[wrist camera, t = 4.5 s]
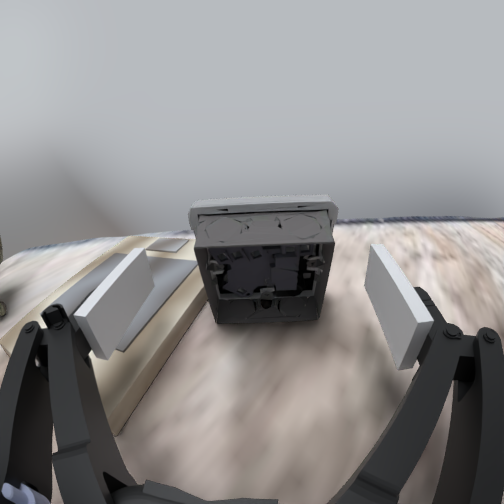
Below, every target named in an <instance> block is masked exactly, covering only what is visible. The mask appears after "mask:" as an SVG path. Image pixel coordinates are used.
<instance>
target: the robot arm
mask: <svg viewBox="0 0 504 504" xmlns="http://www.w3.org/2000/svg"><path fill="white" fill-rule="evenodd" d="M364 286H365V289H366V291H367V293H368V296H369V298H370V300H371V303H372V305H373V307H374V310H375V312H376V315H377V317H378V319H379V322H380V324H381V327H382V330H383V332H384V335H385V337H386V340H387V343H388V345H389V348H390V351H391V353H392V356H393V359H394V362H395V365H396V367H397V370H403V369H409V368H413V366H414V364H415V362H416V360H418V362H419V365H420V366H419V368H418V370H417V372H416V374H415V376H414V377H413V379H412V382H411V384H410V386H409V388H408V390H407V392H406V394H405V396H404V398H403V400H402V402H401V403H400V405H399V407H398V409H397V410H396V412H395V414H394V416H393V417H392V419H391V421H390V422H389V424H388V425H387V427H386V429H385V430H384V432H383V433H382V435H381V436H380V438H379V439H378V441H377V442H376V444H375V445H374V447H373V448H372V450H371V451H370V452H369V454H368V455H367V457H366V458H365V459H364V461H363V462H362V463H361V465H360V466H359V467H358V469H357V470H356V471H355V472H354V474H353V475H352V476H351V477H350V479H349V480H348V481H347V482H346V483H345V485H344V486H343V487H342V488H341V489H340V490H339V492H338V493H337V494H336V495H335V496H334V497H333V498H332V499H331V500H330V501H329V502H328V503H327V504H397V503H398V500H399V493H400V491H401V489H402V488H403V486H404V484H405V483H406V481H407V480H408V478H409V476H410V475H411V473H412V471H413V469H414V468H415V466H416V464H417V462H418V460H419V459H420V457H421V455H422V453H423V451H424V449H425V447H426V445H427V443H428V441H429V439H430V437H431V434H432V432H433V430H434V428H435V426H436V423H437V421H438V419H439V416H440V414H441V411H442V409H443V406H444V403H445V401H446V398H447V395H448V392H449V389H450V387H451V383H452V380H454V388H453V402H452V413H451V421H450V429H449V436H448V442H447V447H446V452H445V457H444V462H443V466H442V471H441V475H440V479H439V482H438V486H437V489H436V493H435V496H434V499H433V502H432V504H501V501H502V496H503V491H504V355H503V349H502V344H501V339H500V337H499V335H498V334H497V332H496V331H494V330H493V329H490V328H487V327H483V328H481V329H480V330H479V331H478V333H477V335H476V336H470V335H464V334H463V332H462V330H461V329H460V328H459V327H457V326H456V325H454V324H450V323H447V322H446V321H445V319H444V318H443V316H442V314H441V313H440V311H439V310H438V308H437V307H436V306H435V304H434V302H433V301H432V300H431V298H430V296H429V295H428V293H427V292H426V291H424V290H423V289H422V288H420V287H413V286H412V285H411V283H410V282H409V280H408V279H407V277H406V276H405V274H404V273H403V271H402V270H401V269H400V267H399V266H398V264H397V263H396V262H395V260H394V259H393V257H392V256H391V255H390V253H389V252H388V250H387V249H386V248H385V246H384V245H383V244H371V246H370V253H369V260H368V266H367V272H366V278H365V284H364ZM154 287H155V285H154V281H153V278H152V274H151V270H150V266H149V262H148V258H147V254H146V250H145V248H134V249H133V250H132V251H131V252H130V253H129V254H128V255H127V256H126V257H125V258H124V259H123V260H122V261H121V262H120V263H119V264H118V265H117V267H116V268H115V269H114V270H113V271H112V272H111V273H110V274H109V275H108V276H107V277H106V278H105V279H104V281H103V282H102V283H101V284H100V285H99V286H98V287H97V288H95V289H94V290H92V291H91V292H90V293H89V294H88V295H87V296H86V297H85V299H83V300H82V302H81V304H79V305H78V306H77V307H76V309H75V310H74V311H73V312H72V313H71V314H70V316H69V317H68V316H67V314H66V312H65V309H64V307H63V305H62V304H58V303H56V304H52V305H50V306H48V307H47V308H46V309H44V311H43V312H42V314H41V317H42V319H43V321H44V323H45V324H46V326H47V328H41V327H40V325H39V323H38V322H37V321H31V322H28V323H26V324H25V325H24V326H23V327H22V329H21V331H20V333H19V336H18V338H17V341H16V343H15V346H14V348H13V351H12V354H11V357H10V360H9V362H8V365H7V369H6V372H5V375H4V378H3V381H2V385H1V389H0V504H51V499H52V463H53V467H54V471H55V475H56V479H57V483H58V486H59V490H60V493H61V496H62V499H63V502H64V504H278V499H251V498H239V499H230V500H218V501H206V500H203V499H200V498H198V497H195V496H193V495H191V494H188V493H186V492H184V491H182V490H180V489H178V488H175V487H172V486H168V485H164V484H160V483H156V482H153V481H149V480H146V481H145V484H144V485H138V484H137V483H136V481H135V480H134V479H133V477H132V476H131V475H130V474H129V472H128V471H127V469H126V467H125V465H124V462H123V460H122V458H121V455H120V453H119V450H118V448H117V445H116V443H115V440H114V437H113V435H112V432H111V429H110V426H109V423H108V420H107V417H106V414H105V411H104V407H103V404H102V401H101V397H100V393H99V390H98V386H97V382H96V378H95V374H94V370H93V365H92V361H91V358H90V356H89V355H88V354H89V353H90V351H91V350H92V351H93V353H94V355H95V356H96V358H99V359H103V360H107V361H108V360H109V358H110V357H111V355H112V353H113V352H114V350H115V348H116V347H117V345H118V343H119V342H120V340H121V338H122V337H123V335H124V333H125V332H126V330H127V329H128V327H129V325H130V324H131V322H132V321H133V319H134V317H135V316H136V314H137V313H138V311H139V310H140V308H141V306H142V305H143V303H144V302H145V300H146V299H147V297H148V296H149V294H150V293H151V291H152V290H153V288H154ZM35 360H37V361H38V366H36V362H35ZM53 423H54V430H55V435H56V441H57V446H58V452H55V453H53V454H52V434H53Z"/></svg>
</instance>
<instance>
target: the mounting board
mask: <svg viewBox="0 0 504 504" xmlns="http://www.w3.org/2000/svg"><path fill="white" fill-rule="evenodd" d="M195 241H196V239H179V238H161V237H142V236H128V237H127V238H125V239H124V240H122V241H121V242H119V243H118V244H117V245H115V246H114V247H112V248H111V249H109V250H108V251H107V252H105V253H104V254H102V255H101V256H100V257H98V258H97V259H96V260H94V261H93V262H92V263H90V264H89V265H87V266H86V267H85V268H83V269H82V270H81V271H80V272H78V273H77V274H76V275H74V276H73V277H72V278H70V279H69V280H68V281H67V282H65V283H64V284H63V285H62V286H60V287H59V288H58V289H57V290H55V291H54V292H53V293H52V294H50V295H49V296H48V297H47V298H46V299H44V300H43V301H42V302H41V303H40V304H39V305H37V306H36V307H35V308H34V309H33V310H32V311H30V312H29V313H28V314H27V315H26V316H25V317H24V318H23V319H21V320H20V321H19V322H18V323H17V324H16V325H15V326H14V327H13V328H12V329H10V330H9V331H8V332H7V333H6V334H5V335H4V336H3V337H2V338H1V339H0V344H1V346H2V348H3V349H4V351H5V352H6V354H7V355H8V356H9V357H11V354H12V351H13V348H14V346H15V343H16V341H17V338H18V336H19V333H20V331H21V329H22V327H23V326H24V325H25V324H26V323H28V322H31V321H37V322H38V323H39V325H40V327H41V328H47V326H46V324H45V323H44V321H43V319H42V317H41V314H42V312H43V311H44V309H46V308H47V307H48V306H50V305H52V304H56V303H58V304H62V305H63V307H64V309H65V312H66V314H67V316H68V317H69V316H70V314H71V313H72V312H73V311H74V310H75V309H76V307H77V306H78V305H79V304H81V302H82V300H83V299H85V297H86V296H87V295H88V294H89V293H90V292H91V291H92V290H94V289H95V288H97V287H98V286H99V285H100V284H101V283H102V282H103V281H104V279H105V278H106V277H107V276H108V275H109V274H110V273H111V272H112V271H113V270H114V269H115V268H116V267H117V265H118V264H119V263H120V262H121V261H122V260H123V259H124V258H125V257H126V256H127V255H128V254H129V253H130V252H131V251H132V250H133V249H134V248H145V250H146V254H147V258H148V262H149V266H150V270H151V274H152V278H153V281H154V285H155V287H154V288H153V290H152V291H151V293H150V294H149V296H148V297H147V299H146V300H145V302H144V303H143V305H142V306H141V308H140V310H139V311H138V313H137V314H136V316H135V317H134V319H133V321H132V322H131V324H130V325H129V327H128V329H127V330H126V332H125V333H124V335H123V337H122V338H121V340H120V342H119V343H118V345H117V347H116V348H115V350H114V352H113V353H112V355H111V357H110V358H109V360H108V361H107V360H103V359H99V358H96V356H95V355H94V353H93V351H92V350H91V351H90V353H89V354H88V355H89V356H90V358H91V361H92V365H93V370H94V374H95V378H96V382H97V386H98V390H99V393H100V397H101V401H102V404H103V407H104V411H105V414H106V417H107V420H108V423H109V426H110V429H111V432H112V434H114V435H116V436H117V435H118V434H119V432H120V430H121V429H122V427H123V426H124V424H125V423H126V421H127V420H128V418H129V417H130V415H131V414H132V412H133V411H134V409H135V407H136V406H137V404H138V403H139V401H140V400H141V398H142V397H143V395H144V394H145V392H146V391H147V389H148V388H149V386H150V385H151V383H152V382H153V380H154V379H155V377H156V376H157V374H158V373H159V371H160V370H161V368H162V367H163V365H164V364H165V362H166V361H167V359H168V358H169V356H170V355H171V353H172V352H173V350H174V349H175V347H176V346H177V344H178V343H179V341H180V340H181V338H182V337H183V335H184V334H185V332H186V331H187V329H188V328H189V326H190V325H191V323H192V322H193V320H194V319H195V317H196V316H197V314H198V313H199V311H200V310H201V308H202V307H203V305H204V304H205V302H206V301H207V300H208V297H207V293H206V290H205V287H204V284H203V280H202V277H201V273H200V270H199V266H198V263H197V260H196V256H195V252H194V245H195ZM35 362H36V366H38V361H37V360H35Z"/></svg>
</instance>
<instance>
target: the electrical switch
mask: <svg viewBox="0 0 504 504" xmlns="http://www.w3.org/2000/svg"><path fill="white" fill-rule="evenodd" d="M337 215H338V207H337V205H336V203H335V202H334V201H333V200H332V199H331V198H330V196H329V195H289V196H261V197H240V198H224V199H210V200H198V201H196V202H195V203H194V204H192V206H191V208H190V211H189V213H188V218H189V224H190V227H191V230H194V233H195V237H196V241H195V245H194V252H195V256H196V260H197V263H198V266H199V270H200V273H201V277H202V280H203V284H204V287H205V290H206V293H207V297H208V300H209V303H210V306H211V310H212V313H213V316H214V319H215V322H216V319H217V323H263V322H288V321H306V320H317V319H319V317H320V313H321V309H322V304H323V300H324V295H325V291H326V286H327V282H328V277H329V272H330V267H331V262H332V257H333V252H334V246H335V242H334V239H333V236H332V233H333V227H334V224H336V221H337ZM307 297H309V298H307ZM321 298H322V299H321ZM260 299H267V300H272V307H270V308H268V309H264V308H263V307H262V306H261V301H260ZM281 299H282V300H281ZM252 300H253V301H252ZM279 300H280V306H279V310H280V311H279V310H278V302H279ZM254 302H255V304H256V311H255V305H254ZM305 305H306V306H305ZM316 308H317V309H316ZM254 311H255V312H254ZM253 312H254V313H253ZM217 313H218V315H217ZM317 314H318V317H317ZM284 315H286V316H284ZM298 315H299V316H298ZM296 316H298V317H296ZM245 318H247V319H245Z"/></svg>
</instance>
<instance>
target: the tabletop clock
mask: <svg viewBox="0 0 504 504" xmlns="http://www.w3.org/2000/svg"><path fill="white" fill-rule="evenodd" d="M2 261H3V255H2V244H1V238H0V264H1V262H2ZM5 314H6V306H5V304H4V303H3V302H0V316H4V315H5Z"/></svg>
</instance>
